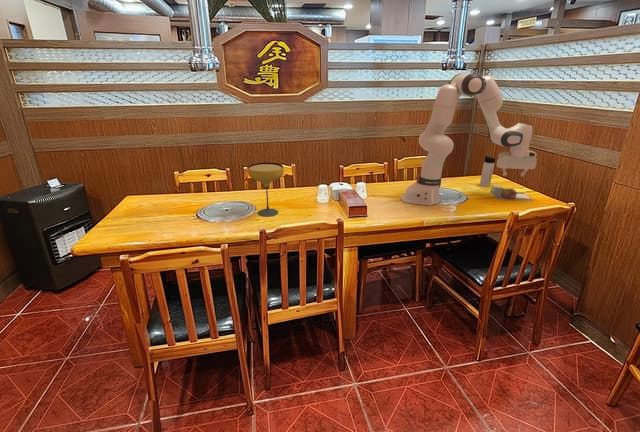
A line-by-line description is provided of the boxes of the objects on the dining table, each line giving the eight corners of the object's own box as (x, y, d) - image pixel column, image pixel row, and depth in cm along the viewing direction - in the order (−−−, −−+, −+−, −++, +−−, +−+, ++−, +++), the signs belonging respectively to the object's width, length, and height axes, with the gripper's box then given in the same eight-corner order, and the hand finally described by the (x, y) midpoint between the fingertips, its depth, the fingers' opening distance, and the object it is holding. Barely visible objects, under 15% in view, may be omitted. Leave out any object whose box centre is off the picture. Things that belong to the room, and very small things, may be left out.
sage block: (493, 193, 212) (494, 187, 210) (490, 191, 216) (492, 185, 215) (501, 194, 211) (503, 187, 210) (499, 191, 216) (500, 185, 214)
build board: (497, 200, 204) (497, 198, 203) (489, 192, 217) (489, 190, 217) (533, 202, 201) (533, 200, 201) (523, 194, 215) (523, 192, 214)
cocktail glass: (287, 206, 191) (285, 162, 181) (282, 219, 174) (280, 171, 165) (254, 206, 192) (251, 162, 182) (247, 219, 175) (243, 171, 165)
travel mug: (478, 184, 231) (484, 155, 224) (489, 185, 229) (495, 156, 222) (479, 187, 226) (484, 157, 218) (490, 188, 224) (496, 158, 216)
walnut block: (504, 198, 203) (506, 191, 201) (501, 195, 209) (502, 188, 207) (515, 199, 202) (517, 192, 201) (511, 196, 208) (513, 189, 206)
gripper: (501, 152, 193) (496, 176, 199) (540, 154, 191) (534, 178, 196) (497, 150, 199) (492, 173, 205) (535, 151, 196) (529, 175, 202)
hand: (513, 175), depth 200 cm, fingers open, 8 cm apart
